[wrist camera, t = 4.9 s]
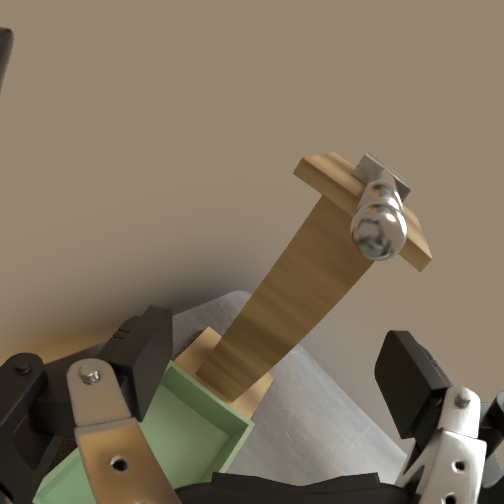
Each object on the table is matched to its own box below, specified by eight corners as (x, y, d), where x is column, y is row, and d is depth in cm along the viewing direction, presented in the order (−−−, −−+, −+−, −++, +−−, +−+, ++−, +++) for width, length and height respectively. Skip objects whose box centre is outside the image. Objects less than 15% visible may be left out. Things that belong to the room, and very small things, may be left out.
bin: (131, 570, 12) (140, 582, 9) (36, 495, 14) (24, 494, 11) (234, 436, 31) (255, 423, 28) (159, 379, 33) (170, 358, 30)
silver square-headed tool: (407, 303, 9) (448, 260, 8) (303, 221, 9) (338, 170, 8) (394, 198, 25) (406, 181, 24) (356, 169, 25) (368, 152, 24)
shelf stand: (235, 438, 31) (443, 268, 15) (157, 378, 33) (288, 148, 17) (270, 380, 41) (423, 221, 25) (205, 330, 42) (324, 145, 27)
